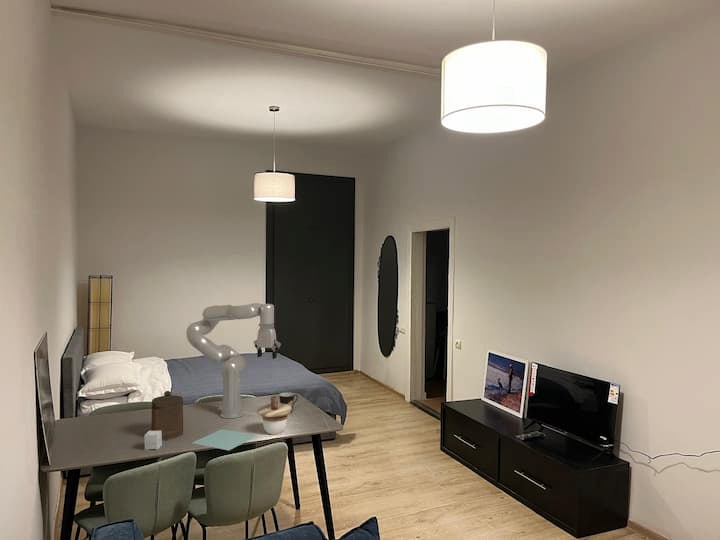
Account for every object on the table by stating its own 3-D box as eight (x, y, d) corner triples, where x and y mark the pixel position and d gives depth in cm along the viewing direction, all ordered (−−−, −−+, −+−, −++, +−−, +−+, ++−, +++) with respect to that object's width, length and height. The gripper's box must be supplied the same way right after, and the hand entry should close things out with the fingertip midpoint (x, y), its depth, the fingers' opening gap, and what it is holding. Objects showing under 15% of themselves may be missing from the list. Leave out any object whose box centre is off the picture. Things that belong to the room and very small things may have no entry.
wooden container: (172, 428, 275) (172, 386, 274) (189, 434, 266) (189, 390, 265) (145, 435, 264) (145, 391, 263) (161, 442, 254) (161, 397, 254)
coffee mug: (281, 414, 299) (281, 397, 299) (277, 410, 307) (277, 393, 307) (301, 412, 303) (301, 395, 303) (297, 408, 311) (297, 391, 311)
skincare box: (162, 445, 250) (162, 430, 250) (157, 450, 244) (157, 434, 244) (149, 445, 250) (148, 430, 250) (144, 450, 244) (144, 434, 244)
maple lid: (250, 414, 264) (250, 400, 263) (269, 404, 280) (269, 390, 279) (280, 419, 257) (280, 404, 257) (297, 407, 273) (297, 394, 272)
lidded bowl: (282, 438, 261) (282, 415, 261) (258, 436, 264) (258, 414, 264) (290, 429, 274) (291, 408, 273) (267, 428, 276) (267, 406, 276)
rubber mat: (191, 443, 253) (191, 442, 253) (221, 429, 273) (221, 429, 273) (228, 451, 244) (228, 450, 244) (257, 436, 264) (257, 435, 264)
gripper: (249, 326, 292) (249, 357, 293) (276, 328, 285) (276, 360, 286) (258, 324, 299) (258, 355, 300) (284, 326, 292) (284, 357, 292)
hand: (267, 357), depth 293 cm, fingers open, 9 cm apart
